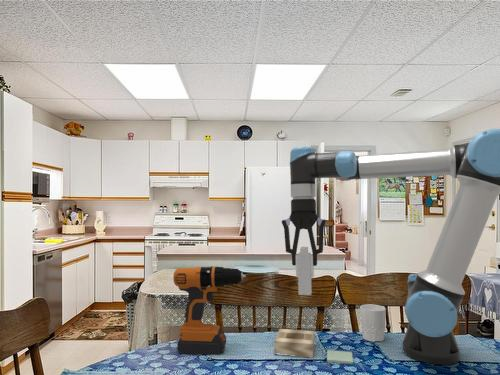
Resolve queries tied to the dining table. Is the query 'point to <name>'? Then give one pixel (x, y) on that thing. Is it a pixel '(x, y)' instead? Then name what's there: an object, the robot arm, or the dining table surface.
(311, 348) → the socket block
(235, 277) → the power drill
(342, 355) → the mat
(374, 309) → the white cup
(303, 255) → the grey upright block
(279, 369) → the dining table surface
